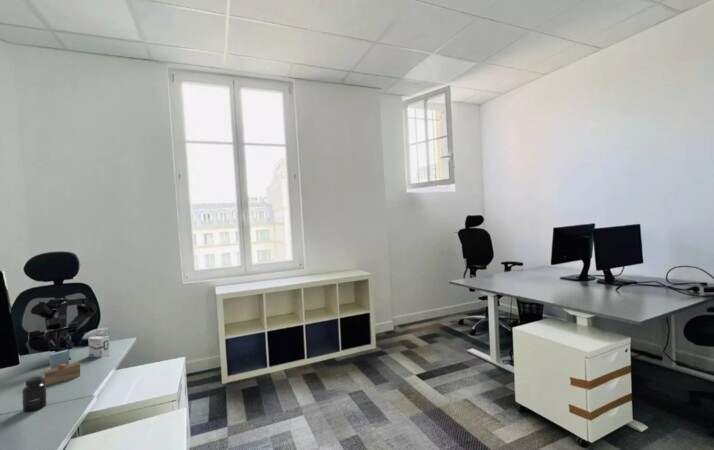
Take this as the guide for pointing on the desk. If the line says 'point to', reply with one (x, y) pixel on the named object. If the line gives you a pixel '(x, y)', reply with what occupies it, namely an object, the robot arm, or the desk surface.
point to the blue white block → (59, 358)
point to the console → (61, 373)
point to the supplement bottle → (34, 394)
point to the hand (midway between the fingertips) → (56, 345)
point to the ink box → (99, 344)
